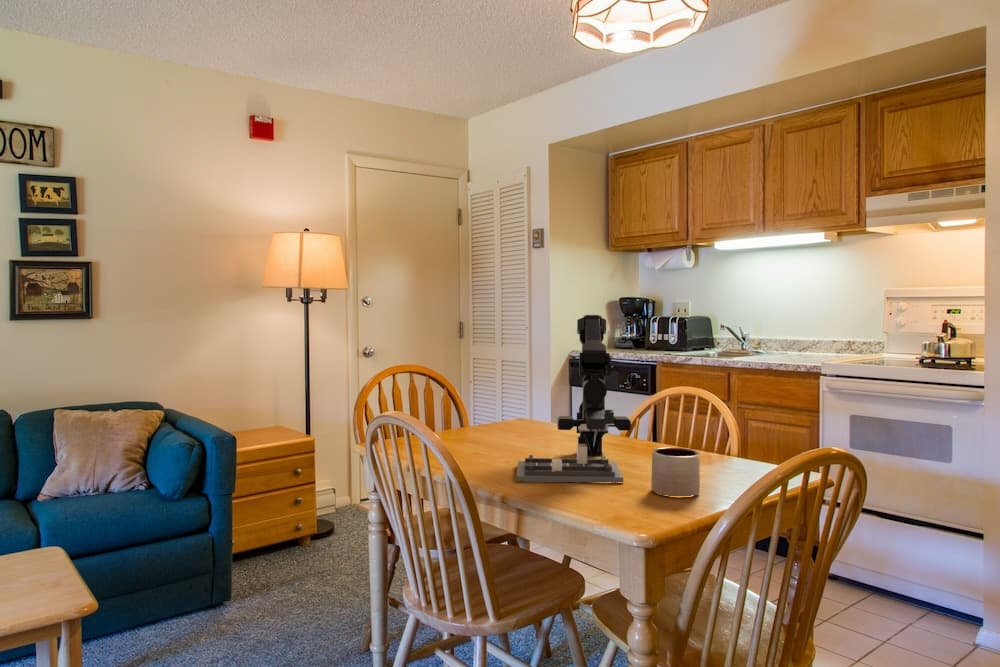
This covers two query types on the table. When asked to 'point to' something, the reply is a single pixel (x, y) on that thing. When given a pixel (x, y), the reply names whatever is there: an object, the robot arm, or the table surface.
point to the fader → (581, 453)
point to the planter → (675, 471)
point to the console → (567, 470)
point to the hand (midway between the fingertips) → (593, 455)
